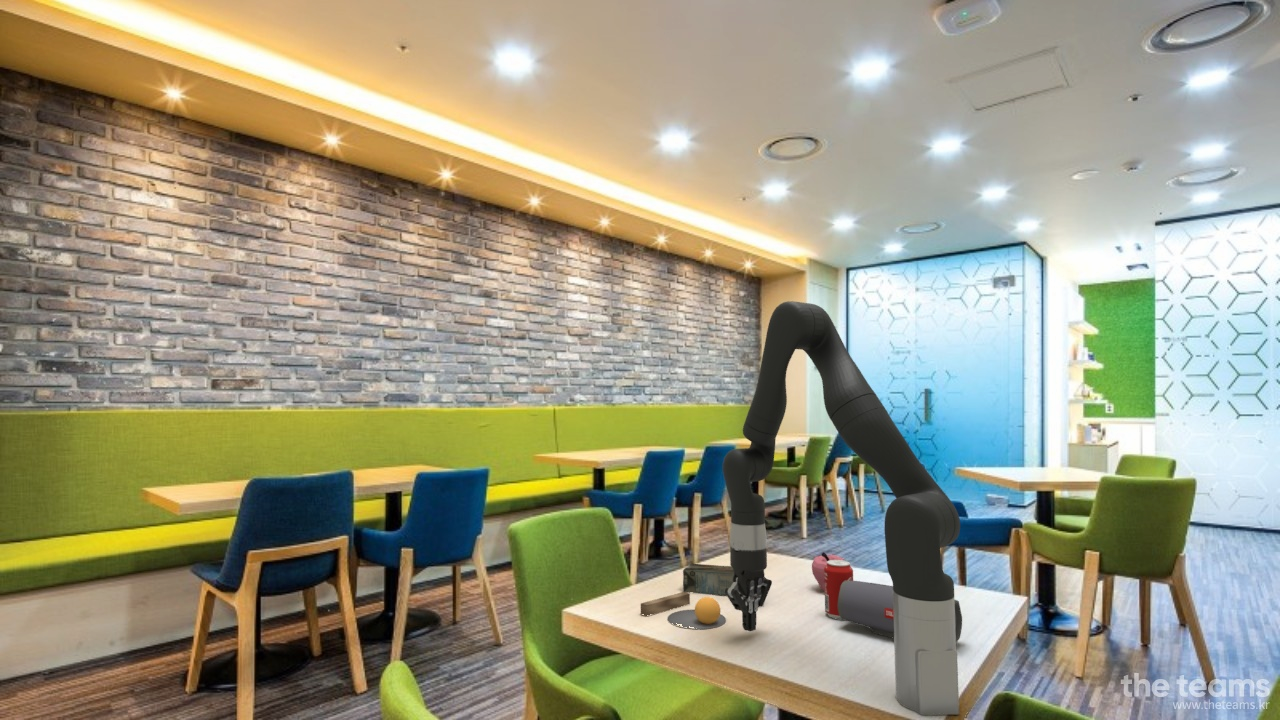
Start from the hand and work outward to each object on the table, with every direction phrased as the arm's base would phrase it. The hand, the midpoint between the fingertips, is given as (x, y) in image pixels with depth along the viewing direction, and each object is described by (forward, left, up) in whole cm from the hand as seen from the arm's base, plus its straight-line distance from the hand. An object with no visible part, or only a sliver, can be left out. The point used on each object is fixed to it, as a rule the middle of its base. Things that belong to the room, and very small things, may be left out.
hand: (749, 629), depth 136 cm
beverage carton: (+33, +1, -2) cm, 33 cm away
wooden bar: (+19, +16, -2) cm, 25 cm away
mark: (+11, +10, -2) cm, 15 cm away
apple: (+33, -27, -2) cm, 42 cm away
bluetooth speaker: (0, -31, -2) cm, 31 cm away
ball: (+9, +7, +1) cm, 12 cm away
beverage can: (+13, -23, -2) cm, 26 cm away
